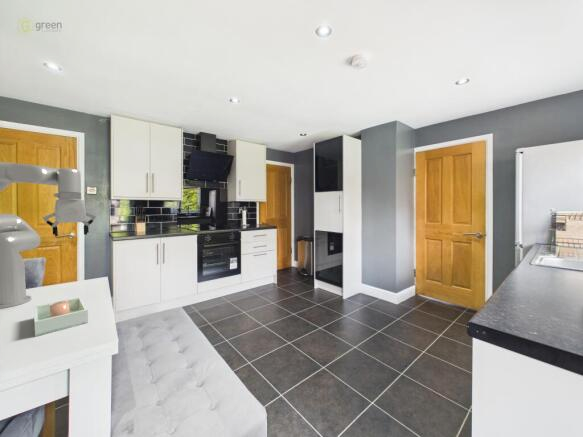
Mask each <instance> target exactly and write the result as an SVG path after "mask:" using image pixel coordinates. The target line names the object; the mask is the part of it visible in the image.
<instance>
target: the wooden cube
mask: <svg viewBox="0 0 583 437" xmlns="http://www.w3.org/2000/svg"><path fill="white" fill-rule="evenodd" d="M68 300H69V299H65V301H64V300H61V301H60V302H68ZM56 303H59V301H55V303H54V302H51V303H50V306H51V305H53V304H56Z"/></svg>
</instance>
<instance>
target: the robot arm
mask: <svg viewBox="0 0 583 437" xmlns="http://www.w3.org/2000/svg"><path fill="white" fill-rule="evenodd" d="M81 174H82V173H81V171H80V170H79V169H76V168H70V167H60V168H55V167H49V166H43V165H38V164H37V165H35V164H27V163H25V164H24V163H16V162H6V161H0V193H1V192H2V191H3V190H5V189H6V188H7V187H8V186H11V185H12V184H19V183H27V184H36V185H37V184H38V185H49V186H57V193H53V197H55V198H58V199H56V200H55V205H54V212H52V213H49V214H48V215H45V216H42V219H43V221H45V223H46V224H47V225H49V226H51V227H52V235H54V236H55V238H56V237H58V236H59V233H58V230H59V229H58V225H59V224H60V223H61V224H63V223H65V224H66V223H67V224H68V223H69V224H70V223H82V224H84V225H83V235H86V236H87V234H88V233H89V226H90V225H91V224H93V223H94V221H95V220H96V217H97V216H96V215H93V214H91V213H89V212H87V211H86V204H85V200H84V199H82V178H81V176H82V175H81ZM53 217H54V222H52V221H51V220H49V219H51V218H53ZM87 217H88V218H90V219H89V220H88V221H86V220H87ZM41 241H42V240H41V237H40V235H39V233H38V232H37V231H36V230H35V229H34V228H32V227H31V226H30V225H29V224H28V223H27V222H26V221H25V220H24V219H22V217H21V216H19V215H16V214H12V213H0V308H1V309H7V308H12V307H17V306H19V305H23V304H26V303H28V302H30V301H31V300H32V296H30V295H27V287H26V286H27V285H26V267H25V260H24V258H23V256H22V255H21V254H20V253H22V252H26V251H31V250H34V249H37V248H38V247H39V246H40V245H41Z"/></svg>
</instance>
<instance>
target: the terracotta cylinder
mask: <svg viewBox="0 0 583 437" xmlns="http://www.w3.org/2000/svg"><path fill="white" fill-rule="evenodd" d="M58 302H59V301H58ZM68 313H70V312H69V302H59V303H56V304H53V305H51V306H50V315H51V317H55V316H60V315H64V314H68Z"/></svg>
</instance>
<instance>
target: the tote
mask: <svg viewBox="0 0 583 437" xmlns="http://www.w3.org/2000/svg"><path fill="white" fill-rule="evenodd" d="M65 300H66V299H65ZM65 300H63V301H65ZM67 300H68V302H69V312H70V313H68V314H64V315H60V316H55V317H51V315H50V303H46V304H45V303H43V304H40V305H35V306H33V308H34V309H33V314H34V315H33V316H34V317H33V318H34V337H35V338H36V337H40V336H43V335H48V334H51V333H55V332H59V331H63V330H67V329H70V328H74V327H77V326H81V325H85V324H88V323H89V315H88V314H89V312H88V311H89V310H88V308H87V306H86V304H85V302H84V300H83V298H82V297H74V298H71V299H67ZM55 302H56V301H55ZM55 302H53V303H55ZM58 302H60V301H58Z"/></svg>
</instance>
